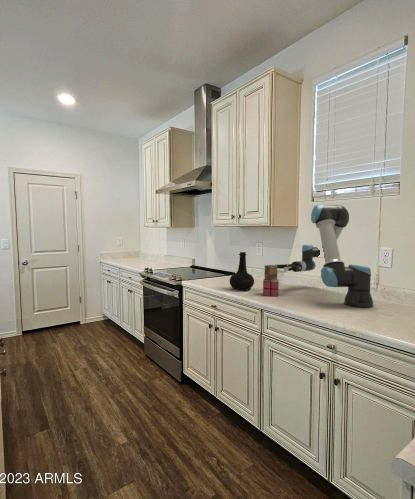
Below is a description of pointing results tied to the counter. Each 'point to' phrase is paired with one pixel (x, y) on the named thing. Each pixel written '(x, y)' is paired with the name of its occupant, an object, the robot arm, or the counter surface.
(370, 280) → the robot arm
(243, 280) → the dark bulbous vase
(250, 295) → the counter surface
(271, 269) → the walnut block
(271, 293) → the puzzle cube
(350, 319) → the counter surface
